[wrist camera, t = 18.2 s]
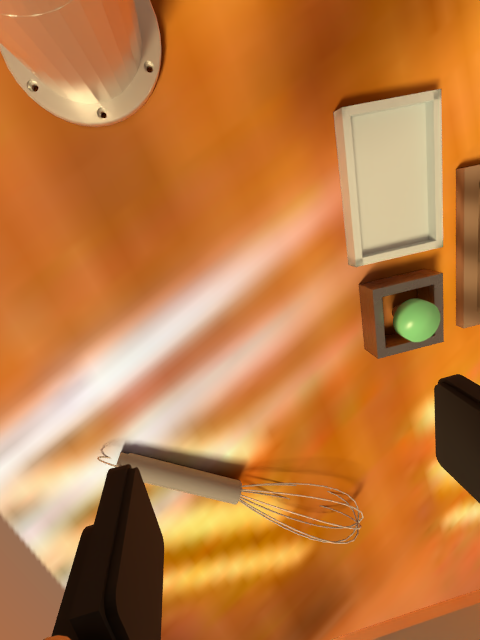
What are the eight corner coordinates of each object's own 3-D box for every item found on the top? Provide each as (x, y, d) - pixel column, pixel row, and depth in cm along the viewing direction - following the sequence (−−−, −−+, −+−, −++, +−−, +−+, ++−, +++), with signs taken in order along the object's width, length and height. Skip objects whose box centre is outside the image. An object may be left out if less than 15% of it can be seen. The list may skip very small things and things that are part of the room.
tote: (333, 112, 35) (341, 107, 33) (428, 94, 36) (441, 88, 34) (348, 264, 39) (356, 266, 38) (431, 245, 40) (443, 246, 39)
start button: (379, 297, 40) (400, 307, 36) (415, 289, 41) (439, 297, 37) (381, 334, 42) (402, 346, 38) (416, 325, 42) (440, 336, 38)
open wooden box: (358, 284, 40) (372, 290, 38) (424, 268, 41) (442, 273, 38) (364, 348, 43) (377, 358, 40) (426, 333, 44) (443, 341, 41)
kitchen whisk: (106, 428, 41) (95, 466, 35) (356, 483, 49) (380, 520, 44) (92, 473, 42) (78, 516, 36) (337, 518, 51) (359, 559, 45)
